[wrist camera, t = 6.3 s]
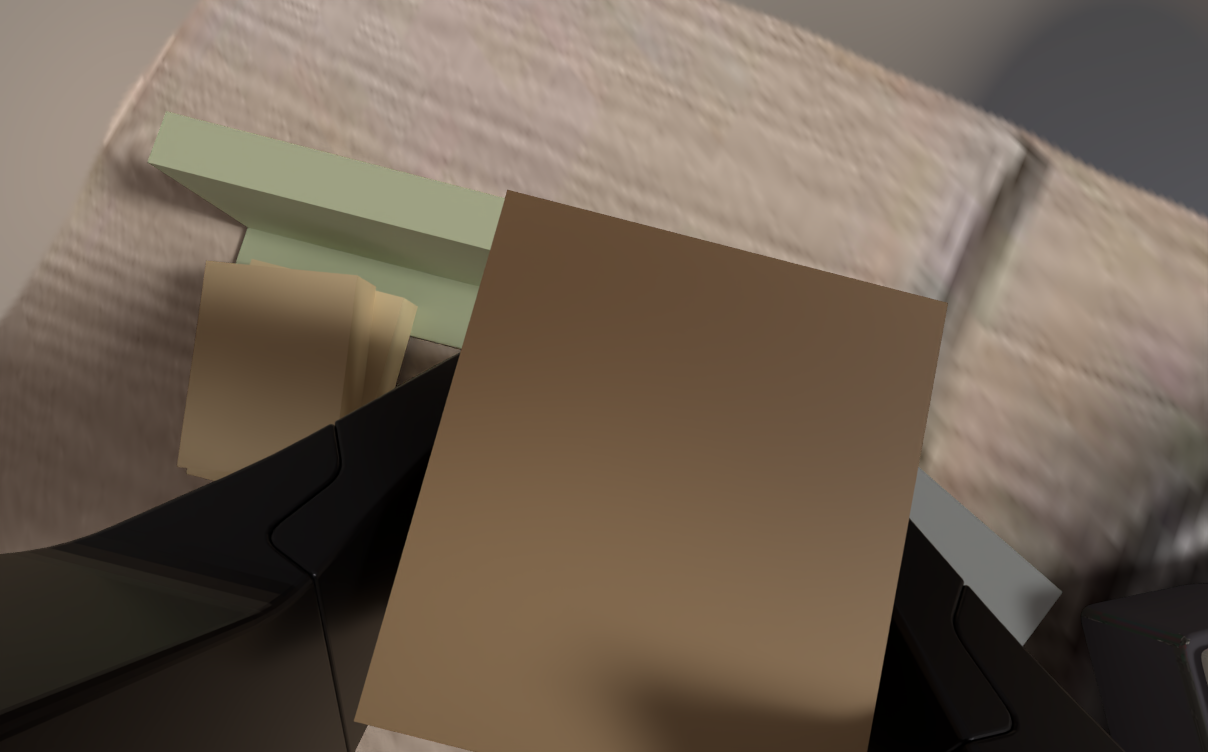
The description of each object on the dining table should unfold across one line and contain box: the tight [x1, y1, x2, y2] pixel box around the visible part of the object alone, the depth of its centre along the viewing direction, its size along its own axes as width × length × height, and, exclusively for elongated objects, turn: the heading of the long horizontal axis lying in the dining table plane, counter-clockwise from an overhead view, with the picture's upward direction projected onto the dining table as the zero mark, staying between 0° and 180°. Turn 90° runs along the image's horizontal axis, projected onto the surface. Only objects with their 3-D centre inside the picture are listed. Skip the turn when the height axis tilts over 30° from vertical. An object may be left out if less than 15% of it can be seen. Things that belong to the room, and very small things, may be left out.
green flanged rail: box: [148, 111, 505, 349], centre depth 18 cm, size 5×18×5 cm, turn 76°
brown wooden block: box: [354, 190, 948, 752], centre depth 10 cm, size 4×4×11 cm
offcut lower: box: [186, 259, 418, 481], centre depth 19 cm, size 7×5×2 cm
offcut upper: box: [177, 261, 376, 472], centre depth 18 cm, size 6×4×2 cm
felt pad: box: [909, 467, 1062, 646], centre depth 20 cm, size 10×9×1 cm
